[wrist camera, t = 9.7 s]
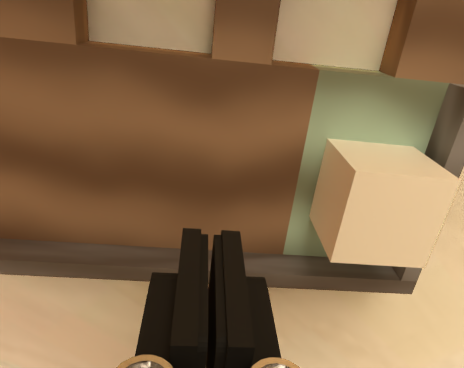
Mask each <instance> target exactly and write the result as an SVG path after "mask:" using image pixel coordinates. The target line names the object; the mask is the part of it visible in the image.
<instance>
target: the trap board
mask: <svg viewBox="0 0 464 368" xmlns="http://www.w3.org/2000/svg"><path fill="white" fill-rule="evenodd" d="M280 1H281V0H216V5H215V18H214V31H213V44H212V54H208V53H198V52H188V51H179V50H169V49H160V48H150V47H140V46H131V45H121V44H112V43H102V42H92V41H89V36H88V19H87V2H86V0H0V274H8V275H29V276H49V277H70V278H90V279H111V280H132V281H150V279H151V275H152V272H159V273H178V268H179V259H180V249H181V240H182V231H183V228H194V229H201V234H208V284H209V277H210V267H211V258H212V248H213V238H214V235H221V230H230V231H240V234H241V242H242V249H243V257H244V265H245V273H246V276H250V277H264V278H265V279H266V283H267V287H276V288H296V289H317V290H338V291H358V292H379V293H400V294H412V292H413V290H414V287H415V285H416V282H417V280H418V277H419V275H420V272H421V270H422V268H413V267H397V266H381V265H365V264H349V263H333V262H330V260H329V258H328V256H327V254H326V252H325V250H324V247H323V245H322V243H321V241H320V239H319V237H318V234H317V232H316V230H315V228H314V226H313V224H312V221H311V219H310V217H309V215H310V210H311V206H312V202H313V198H314V193H315V189H316V185H317V180H318V176H319V172H320V168H321V163H322V159H323V155H324V151H325V146H326V142H327V138H329V139H340V140H350V141H361V142H371V143H382V144H392V145H403V146H413V147H415V148H416V149H417V150H419V151H420V152H422V153H423V154H425V155H426V156H427V157H429V158H430V159H432V160H433V161H435V162H436V163H437V164H439V165H440V166H442V167H443V168H445V169H446V170H447V171H449V172H450V173H452V174H453V175H455V176H456V177H457V178H459V176H460V174H461V171H462V169H463V167H464V0H398V3H397V7H396V10H395V14H394V18H393V22H392V25H391V29H390V33H389V37H388V40H387V44H386V48H385V51H384V55H383V59H382V63H381V66H380V70H379V71H371V70H362V69H352V68H342V67H333V66H323V65H314V64H304V63H294V62H285V61H275V60H272V57H273V50H274V43H275V36H276V29H277V22H278V15H279V8H280Z"/></svg>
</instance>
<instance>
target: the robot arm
mask: <svg viewBox="0 0 464 368" xmlns="http://www.w3.org/2000/svg"><path fill="white" fill-rule="evenodd" d="M116 368H300V367H299V366H297V365H296V364H294V363H292V362H291V361H289V360H286V359H282V358H281V354H280V349H279V344H278V339H277V334H276V329H275V324H274V319H273V314H272V308H271V303H270V298H269V293H268V288H267V283H266V279H265V278H264V277H250V276H246V273H245V265H244V257H243V249H242V242H241V234H240V231H230V230H221V235H214V238H213V248H212V258H211V267H210V277H209V287H208V234H201V229H194V228H183V231H182V240H181V249H180V259H179V268H178V273H159V272H152V275H151V279H150V284H149V289H148V294H147V299H146V304H145V309H144V314H143V319H142V324H141V329H140V334H139V339H138V344H137V349H136V354H135V357H131V358H129V359H127V360H126V361H124V362H122V363H121V364H120V365H119V366H118V367H116Z"/></svg>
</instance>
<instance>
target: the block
mask: <svg viewBox="0 0 464 368" xmlns="http://www.w3.org/2000/svg"><path fill="white" fill-rule="evenodd" d="M461 181H462V180H460V179H459V178H457V177H456V176H455V175H453V174H452V173H450V172H449V171H447V170H446V169H445V168H443V167H442V166H440V165H439V164H437V163H436V162H435V161H433V160H432V159H430V158H429V157H427V156H426V155H425V154H423V153H422V152H420V151H419V150H417V149H416V148H415V147H413V146H403V145H392V144H382V143H371V142H361V141H350V140H340V139H329V138H327V142H326V146H325V151H324V155H323V159H322V163H321V168H320V172H319V176H318V180H317V185H316V189H315V193H314V198H313V202H312V206H311V210H310V215H309V217H310V219H311V221H312V224H313V226H314V228H315V230H316V232H317V234H318V237H319V239H320V241H321V243H322V245H323V247H324V250H325V252H326V254H327V256H328V258H329V260H330V262H333V263H349V264H365V265H381V266H397V267H413V268H425V266H426V264H427V262H428V259H429V257H430V254H431V252H432V250H433V247H434V245H435V243H436V240H437V238H438V235H439V233H440V231H441V228H442V226H443V224H444V221H445V219H446V216H447V214H448V212H449V209H450V207H451V204H452V202H453V200H454V197H455V195H456V193H457V190H458V188H459V185H460V183H461Z"/></svg>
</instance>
